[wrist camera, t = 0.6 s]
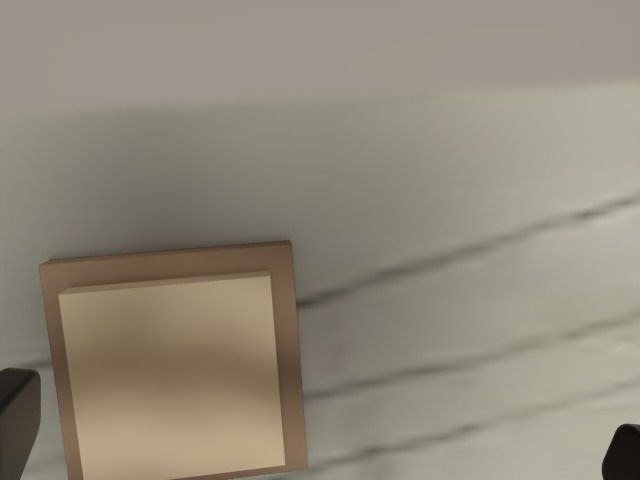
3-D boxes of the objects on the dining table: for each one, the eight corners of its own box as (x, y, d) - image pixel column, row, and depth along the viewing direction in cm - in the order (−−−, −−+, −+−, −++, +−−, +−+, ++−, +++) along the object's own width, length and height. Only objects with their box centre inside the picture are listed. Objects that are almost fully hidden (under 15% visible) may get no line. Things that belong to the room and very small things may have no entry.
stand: (305, 455, 26) (310, 484, 24) (79, 482, 25) (62, 516, 23) (289, 240, 25) (293, 249, 22) (49, 260, 24) (27, 271, 21)
